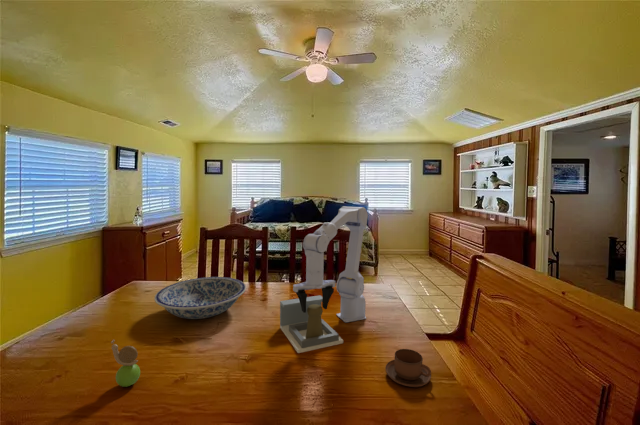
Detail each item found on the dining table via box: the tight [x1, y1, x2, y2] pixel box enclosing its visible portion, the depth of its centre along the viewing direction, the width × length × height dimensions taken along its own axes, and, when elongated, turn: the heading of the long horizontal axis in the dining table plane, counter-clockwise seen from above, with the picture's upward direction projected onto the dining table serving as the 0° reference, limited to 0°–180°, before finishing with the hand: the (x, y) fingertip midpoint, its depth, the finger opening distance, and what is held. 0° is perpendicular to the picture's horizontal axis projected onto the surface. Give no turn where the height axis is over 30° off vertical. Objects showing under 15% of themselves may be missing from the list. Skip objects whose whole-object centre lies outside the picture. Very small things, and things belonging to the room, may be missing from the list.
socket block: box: [279, 295, 344, 354], centre depth 108 cm, size 16×19×10 cm
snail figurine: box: [110, 339, 141, 388], centre depth 80 cm, size 5×6×12 cm
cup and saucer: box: [385, 348, 432, 388], centre depth 85 cm, size 12×12×6 cm
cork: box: [306, 304, 323, 339], centre depth 104 cm, size 6×6×11 cm
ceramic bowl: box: [154, 276, 247, 320], centre depth 126 cm, size 34×34×10 cm
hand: (314, 309), depth 104 cm, fingers open, 7 cm apart
